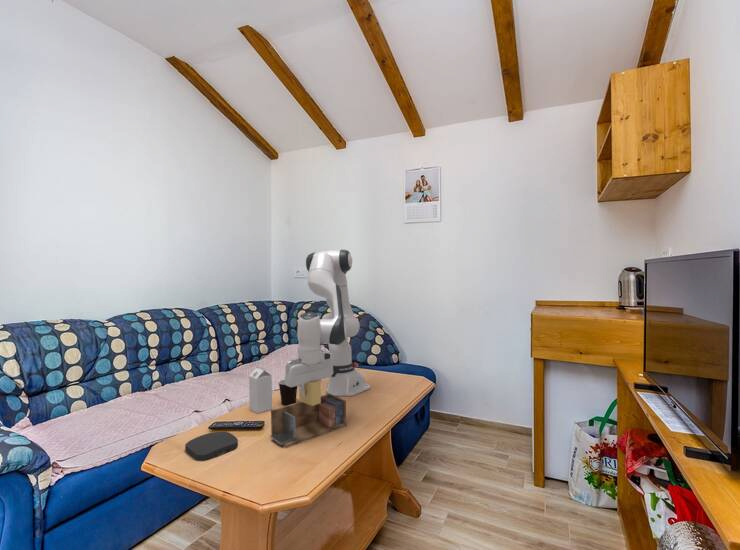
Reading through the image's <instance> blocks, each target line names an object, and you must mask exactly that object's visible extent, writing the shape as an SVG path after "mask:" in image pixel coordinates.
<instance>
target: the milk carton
mask: <svg viewBox="0 0 740 550" xmlns="http://www.w3.org/2000/svg"><path fill="white" fill-rule="evenodd" d="M272 380H273V379H272V375H271V374H270V373H269V372H268V371H266V370H265V367H264V366H260V365H255V368H254V369H253V371H251V372H250V374H249V375H248V381H249V382H248V386H249V388H248V389H249V410H250V411H252V412H254V413H256V414H261V413H263V412H266V411H269V410H270V411H271V410H273V387H272V386H273V383H272Z"/></svg>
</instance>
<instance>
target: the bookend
mask: <svg viewBox="0 0 740 550" xmlns="http://www.w3.org/2000/svg"><path fill="white" fill-rule="evenodd" d="M269 437H270V438H271V439H272V440H274V441H275V442H276V443H277V444H279V445H281V446H283V445H282V444H285V443H288V442H290V441H293V440H296V421H295V417H294V416H293V415H291V414H289V413H287V412H286V411H283V431H282V432H279V433H276V434H273V435H270V436H269Z"/></svg>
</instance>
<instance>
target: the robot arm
mask: <svg viewBox="0 0 740 550" xmlns="http://www.w3.org/2000/svg"><path fill="white" fill-rule="evenodd" d="M305 265H306V266H305V267H306V270H307V272H308V274H307V286H308V288H309V290H310V291H311V292H312V293H313V294H315V295H316V296H318V297H321V298H324V299H325V300H326V304H327V306H328V308H329V309H330V311H331V312H328V313H326V314H325V315H324V316H323V317H322V318H321V317H320V314H319V313H317V312H312V311H310V312H304V313H302V314H300V315H299V316H298V320H297V321H298V322H297V333H296V335H297V336H296V337H297V341H298V343H297V344H298V346H297V358H296V359H293V360H288V362H287V363H285V373H284V379H285V384H286V386H288V387H294V386H297V388H298V389H299V388H300V390H301V395H302V396H304V395H307V390H305V389H304V386H305V383H309V382H313V381H316V380H317V381H320V382H321V383H322V380H323V379H326V378H328V384H327V388H326V394H332V395H334V396H337V397H342V396H348V397H353V396H356V395H358V394H360V393H362V392H365V391H367V390H369V389H371V386H370V385H369V383H366V378H365V376H364V375H363V374H362V373H361V372H360V371H358V370H357V369H355V368H358V367H359V363H358V362H352V359H353V358H352V346H351V344H350V343H349V340H348V338H351V337H352V338H353V337H355V336H357V335H358V333H359V331H360V326H361V325H360V321H359V320H358V318H357V317H356V316H355V314H354V312H353V308H352V306H351V303H350V298H349V290H348V289H349V288H348V280H347V279H348V278H347V275H346V274H347V272H349V271H350V270H351V269H352V265H353V257H352V255H351V252H350V251H349V250H347V249H329V250H324V251H319V252H315V251H314V252H311V253H309V254H308V255H307V256H306V260H305ZM320 318H321V319H320ZM321 344H325V345H326V344H327V345H328V351H324V350H322V345H321Z"/></svg>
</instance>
